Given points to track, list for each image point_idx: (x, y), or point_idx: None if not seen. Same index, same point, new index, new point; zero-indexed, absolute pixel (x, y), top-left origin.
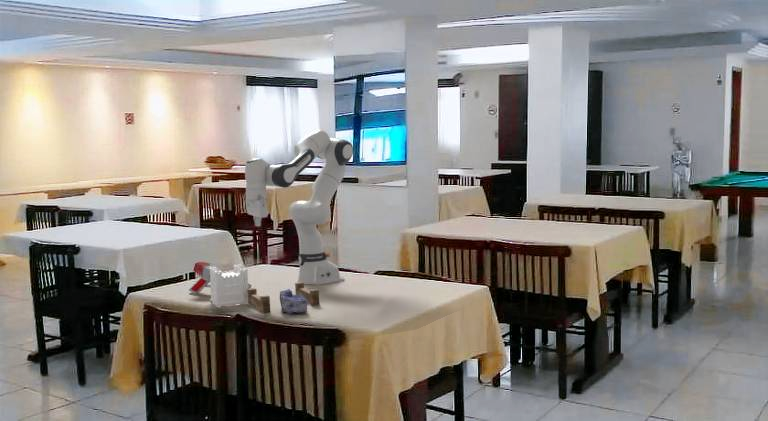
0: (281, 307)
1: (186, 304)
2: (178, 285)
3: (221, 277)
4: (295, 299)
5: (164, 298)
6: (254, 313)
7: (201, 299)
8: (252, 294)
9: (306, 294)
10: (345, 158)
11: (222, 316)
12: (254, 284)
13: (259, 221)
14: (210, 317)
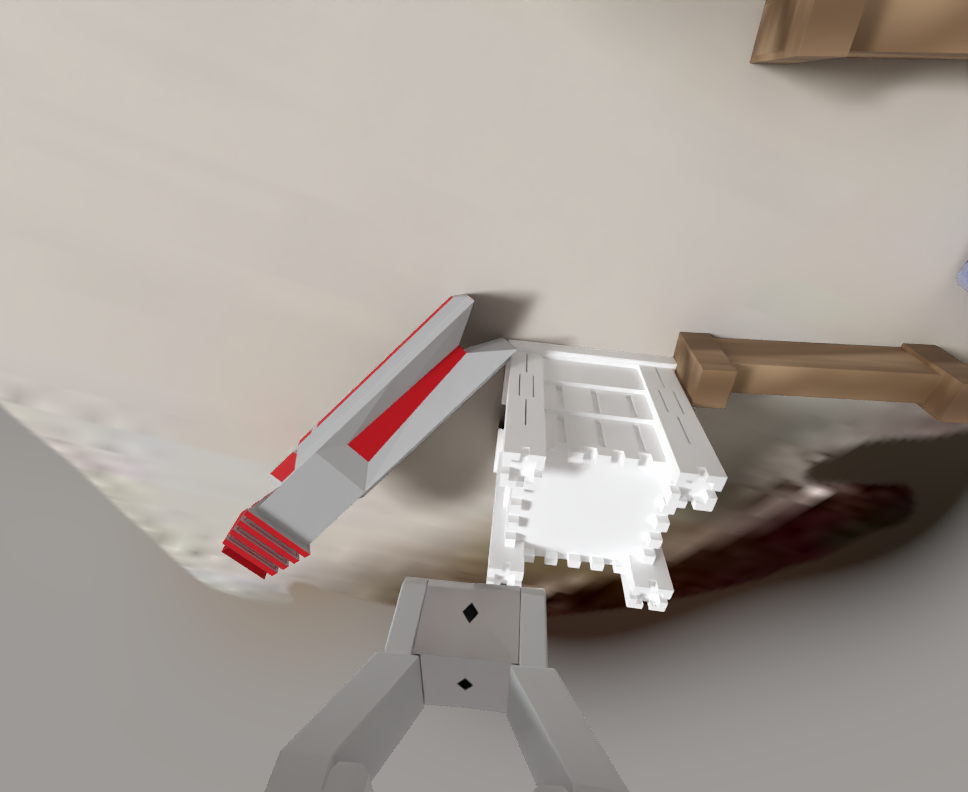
0: (963, 285)
1: None
2: (105, 467)
3: (665, 564)
4: None
5: (345, 555)
6: (879, 408)
7: (439, 478)
8: (734, 384)
9: None
10: None
11: (796, 507)
12: (187, 162)
13: (566, 712)
14: (769, 537)
